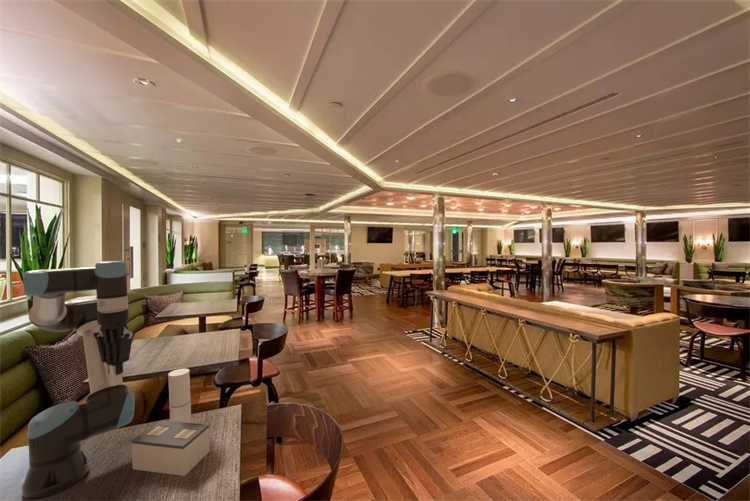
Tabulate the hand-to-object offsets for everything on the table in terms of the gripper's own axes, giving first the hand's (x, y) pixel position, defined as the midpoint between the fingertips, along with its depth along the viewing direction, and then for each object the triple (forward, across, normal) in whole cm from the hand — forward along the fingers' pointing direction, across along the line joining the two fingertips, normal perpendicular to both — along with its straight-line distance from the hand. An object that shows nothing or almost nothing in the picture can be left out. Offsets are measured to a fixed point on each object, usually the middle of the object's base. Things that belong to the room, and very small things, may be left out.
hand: (116, 384), depth 99 cm
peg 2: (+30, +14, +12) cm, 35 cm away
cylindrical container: (+33, -1, +26) cm, 42 cm away
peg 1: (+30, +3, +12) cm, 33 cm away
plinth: (+32, +8, +12) cm, 35 cm away
